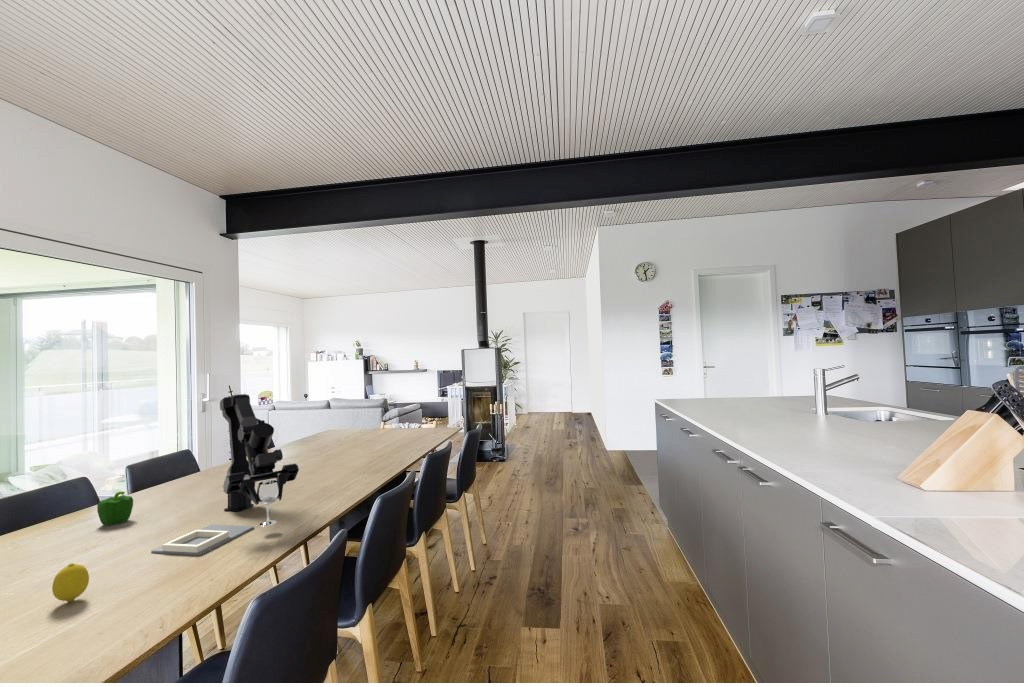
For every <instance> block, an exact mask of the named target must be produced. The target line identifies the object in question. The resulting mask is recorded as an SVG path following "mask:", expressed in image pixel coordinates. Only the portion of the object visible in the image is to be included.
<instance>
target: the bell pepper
mask: <svg viewBox="0 0 1028 687" xmlns="http://www.w3.org/2000/svg"><path fill="white" fill-rule="evenodd" d="M124 494H126V492H125V491H123V490H121V491H120V490H119V491H117V492H116V493H115V494H114V496H109V497H107V498H106V499H102V500H100V501H99V502H98V503H97V504H96V506H97V507H96V508H97V514H98V518H99V521H100V523H101V524H102V525H104V526H112V525H117V524H122V523H123V524H124V523H126V522H127V521H128V520H129V519H130V517H131V515H132V512H133V507H134V498H133V497H132V496H130V495H129V496H128V495H124Z"/></svg>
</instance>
